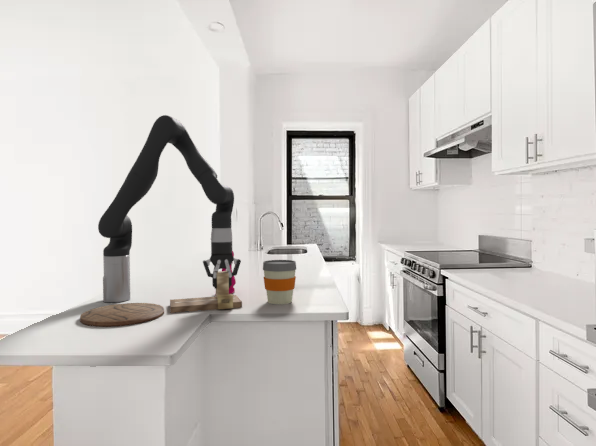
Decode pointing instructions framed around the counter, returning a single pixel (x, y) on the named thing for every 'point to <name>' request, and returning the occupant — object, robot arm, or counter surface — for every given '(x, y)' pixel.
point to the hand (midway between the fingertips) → (222, 287)
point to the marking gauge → (223, 291)
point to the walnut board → (199, 304)
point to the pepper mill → (231, 289)
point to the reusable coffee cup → (279, 280)
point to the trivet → (121, 314)
